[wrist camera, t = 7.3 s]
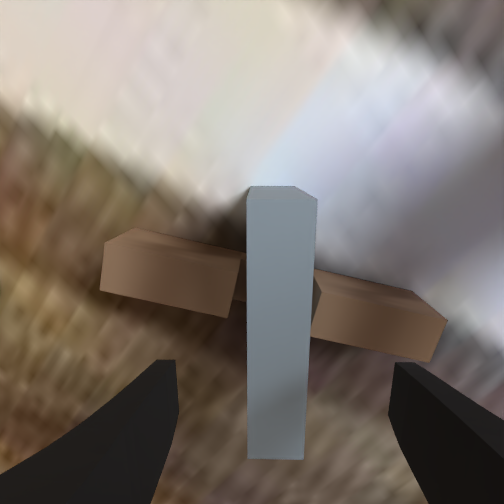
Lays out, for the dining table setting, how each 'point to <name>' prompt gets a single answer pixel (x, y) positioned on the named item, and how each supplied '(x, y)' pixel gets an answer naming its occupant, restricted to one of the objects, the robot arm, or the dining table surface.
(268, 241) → the crosspiece
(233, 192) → the dining table surface
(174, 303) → the base rail
